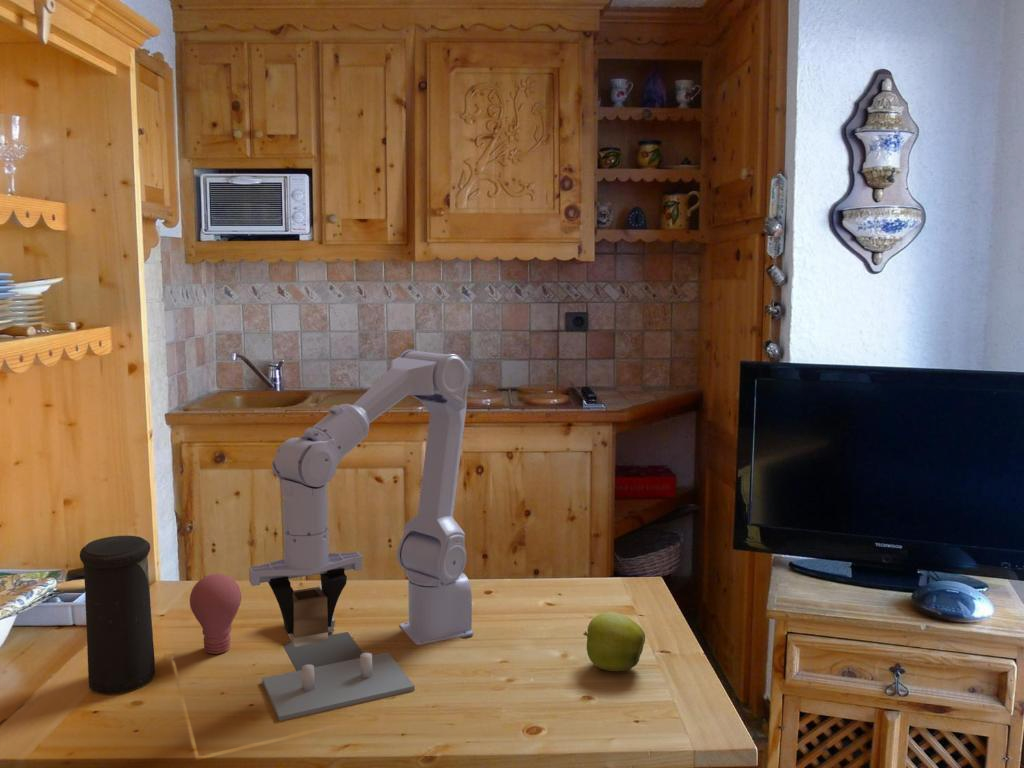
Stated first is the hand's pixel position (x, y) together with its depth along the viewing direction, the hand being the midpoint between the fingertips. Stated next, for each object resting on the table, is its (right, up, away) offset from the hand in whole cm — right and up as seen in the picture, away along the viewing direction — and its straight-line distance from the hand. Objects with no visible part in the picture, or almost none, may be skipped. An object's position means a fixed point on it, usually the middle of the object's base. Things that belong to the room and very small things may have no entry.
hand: (308, 627), depth 116 cm
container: (-26, -9, +4) cm, 28 cm away
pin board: (+4, -9, +2) cm, 10 cm away
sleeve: (0, -2, 0) cm, 2 cm away
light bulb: (-16, -7, +12) cm, 21 cm away
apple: (+42, -9, +9) cm, 43 cm away
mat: (0, -7, +12) cm, 14 cm away
